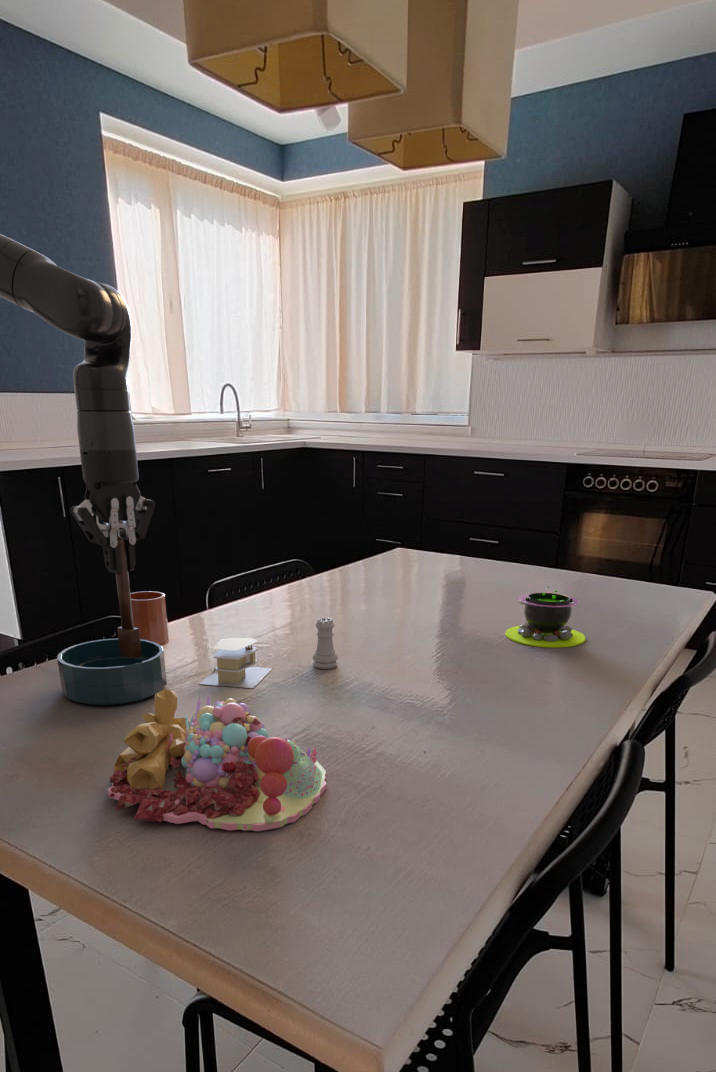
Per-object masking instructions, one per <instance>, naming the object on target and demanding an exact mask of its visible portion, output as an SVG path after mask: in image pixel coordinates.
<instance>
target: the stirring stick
mask: <svg viewBox="0 0 716 1072" xmlns="http://www.w3.org/2000/svg"><path fill="white" fill-rule="evenodd" d="M116 547H118V548H119V554H120V563H121V573H117V574H115V580H116V590H117V599H118V608H119V616H120V623H121V624H120V626H118V627H116V631H117V638H118V640H119V649H120V655H122V656H125V657H129V658H132V659H133V658H137V657H140V656H142V654H141V644H140V634H139V628H135V627H134V622H133V613H132V603H131V594H130V593H131V587H130V577H129V571H128V566H127V556H126V547H125V541H124V539H123V538H121V537H118V536H117V546H116Z"/></svg>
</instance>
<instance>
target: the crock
mask: <svg viewBox="0 0 716 1072" xmlns="http://www.w3.org/2000/svg"><path fill="white" fill-rule="evenodd" d="M130 594H131V603H132V613H133V622H134V627H135V628H139V634H140V639H141V640H148V641H152V642H155V643H158V644H159V645H161V646H164V645H167V644H168V643H169V642H170V635H169V633H170V632H169V624H168V622H169V621H168V612H167V602H166V594H165V593H164V592H160V591H151V590H148V591H146V590H144V591H135V592H130Z"/></svg>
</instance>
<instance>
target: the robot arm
mask: <svg viewBox="0 0 716 1072" xmlns="http://www.w3.org/2000/svg"><path fill="white" fill-rule="evenodd" d="M0 298H2V299H4V300H5V301H8V302H10V303H12V304H14V305H16V306H18V307H19V308H22V309H23V310H26V311H29V312H32V313H33V314H35V315H36V316H38V317H39V318H40V319H42V320H43V321H45V322H46V323H48V324H49V325H51V326H52V327H53V328H55V329H57V330H59V331H61V332H63V333H64V334H66V335H69V336H71V337H73V338H76V339H78V340H81V341H84V343H83V344H84V346H83V360H82V362H80V363H78V364H77V365H76V366H75V367H74V368H73V373H72V377H73V378H72V381H73V391H74V397H75V398H74V399H75V406H76V407H75V408H76V410H77V411H76V430H77V438H78V446H79V455H80V456H79V457H80V464H81V471H82V480H83V481H84V483H85V485H86V486H85V487H86V488H85V489H86V490H85V493H84V499H83V501H82V502H81V503H80V504H79V505H73V506H70V510H69V511H70V514H71V515H72V517H73V518H74V520H75V521H76V523H77V524H78V526H79V528H80V529H81V531H82V532H83V534H84V535H85V537H86V538H87V540H88V541H89V542H90V543H91V544H95V545H100V546H101V547H102V551H103V560H104V566H105V568H106V570H107V571H108V573H111V574H115V575H116V574H117V573H121V563H120V554H119V548H118V547H116V546H117V537H121V538H123V539H124V541H125V547H126V556H127V566H128V572H133V571H135V566H136V564H137V559H136V548H135V547H136V546H135V545H136V543H137V542H138V541H139V540H143V539H145V537H146V534H147V531H148V528H149V526H150V522H151V520H152V517H153V515H154V514H153V513H154V510H155V508H156V502H155V500H153V499H147V498H146V497H144V496H142V494H141V491H140V489H139V487H138V484H137V482H138V481H139V478H140V476H139V475H140V474H139V468H138V467H139V465H138V455H137V454H138V453H137V445H136V435H135V433H136V432H135V426H134V422H133V418H132V412H131V402H130V390H129V383H128V371H129V366H130V357H131V346H132V345H131V344H132V320H131V314H130V309H129V306H128V304H127V302H126V299H125V298H124V296H123V295H122V294H121V292H120V291H118V290H117V289H116V288H115V287H113V286H111V285H109V284H107V283H103V282H99V281H95V280H92V279H88V278H85V277H83V276H81V275H78V274H76V273H73V272H71V271H69V270H67V269H64V268H62V267H60V266H58V265H57V264H56V263H55V262H54V261H53V260H52V259H50V258H49V257H47V256H46V255H44V254H42V253H40V252H38V251H37V250H34V249H32V248H31V247H28V246H26V245H24V244H22V243H20V242H19V241H16V240H15V239H13V238H10V237H8V236H6V235H4V234H2V233H0ZM94 516H95V518H94Z"/></svg>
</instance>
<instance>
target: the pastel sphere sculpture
mask: <svg viewBox="0 0 716 1072" xmlns="http://www.w3.org/2000/svg"><path fill="white" fill-rule="evenodd" d="M177 709H178V695H177V692H176V691H174V690H170V689H166V688H164V689H163V690H161V691H160V692H158V693H156V694H155V695H154V713H150V712H147V713H144V714H142V718H143V720H144V723H141V724H139V725H137V726H134V727H133V728H132V730H130V731H129V733H128V734H127V735H126V736H125V738H124V740H122V741H123V743H125V745H127V746H128V747H127V748H126V749H124V750H123V751H122V752H121V753H120V754H119V755H118V756H117V759H116V761H115V762H114V766H113V773H112V775H111V776H110V779H109V783H111V786H110V787H108V788H107V795H108V796H107V798H110V799H113V800H115V801H118V802H117V804H116V807H115V812H116V811H119V810H123V809H126V808H128V807H129V808H130V807H132V806H134V805H137V804H138V805H139V806H138V808H137V811H136V813H135V815H134V818H133V820H136V821H137V820H138V821H147V822H155V823H156V822H157V823H162V822H168V823H173V824H176V825H181V824H185V823H190V822H199V823H200V824H201V825H206V826H207V827H208V828H210V829H221V830H226V831H228V832H229V831H236V830H241V831H254V832H262V831H269V830H274V829H279V828H283V827H284V826H285V825H288V824H292V823H295V822H297V820H298V819H300V817H302V816H306V815H307V814H308V813H309V812H310V811H311V810H312V809H313V805H314V804H317V803H318V802H319V801H320V800H321V796H322V794H324V793H325V791H326V790H327V782H326V780H327V771H326V770H325V768H324V767H323V765H321V763H320V762H319V761H318V760H317V755H318V752H317V750H316V747H317V746H314V747H313V749H312V753H311V747H310V746H309V747H308V748H307V751H306V752H305V750H304V749H302V748H301V747H300V746H299V744H297V742H296V741H295V740H294V739H292V740H291V739H289V738H287V737H286V738H285V739H283V738H282V737H279V736H270V737H269V734H268V733H269V732H268V730H267V729H266V728H265V724H264V723H263V722H262V721H260V720H259V718H258V717H257V716H255V715H252V714H251V713H249V712H250V707H249V705H247V704H246V703H243V702H242V703H237V701H236V700H235V699H234V698H226V699H225V701H220V699H219V697H217V701H216V702H215V703H214V704H211V694H208V696H207V697H206V705H205V706H203V707H201V697H200V695H199V696H198V699H197V702H196V710H195V713H194V714H193V715H192V717H191V719H190V721H188V717H187V715H186V714H184V717H177V718H175V713H176V712H177Z"/></svg>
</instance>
